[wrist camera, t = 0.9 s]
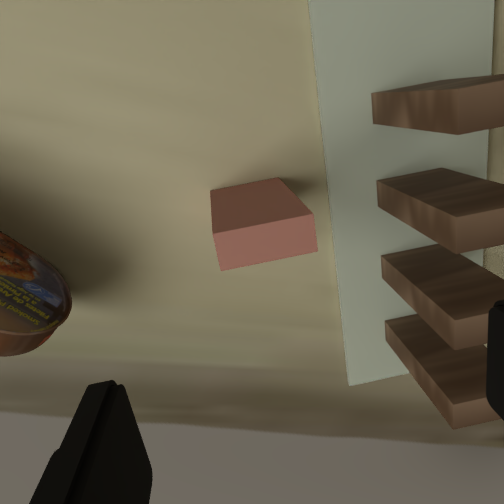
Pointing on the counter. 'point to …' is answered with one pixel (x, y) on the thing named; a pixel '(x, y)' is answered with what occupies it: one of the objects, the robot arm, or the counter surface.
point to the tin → (28, 298)
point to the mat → (387, 143)
